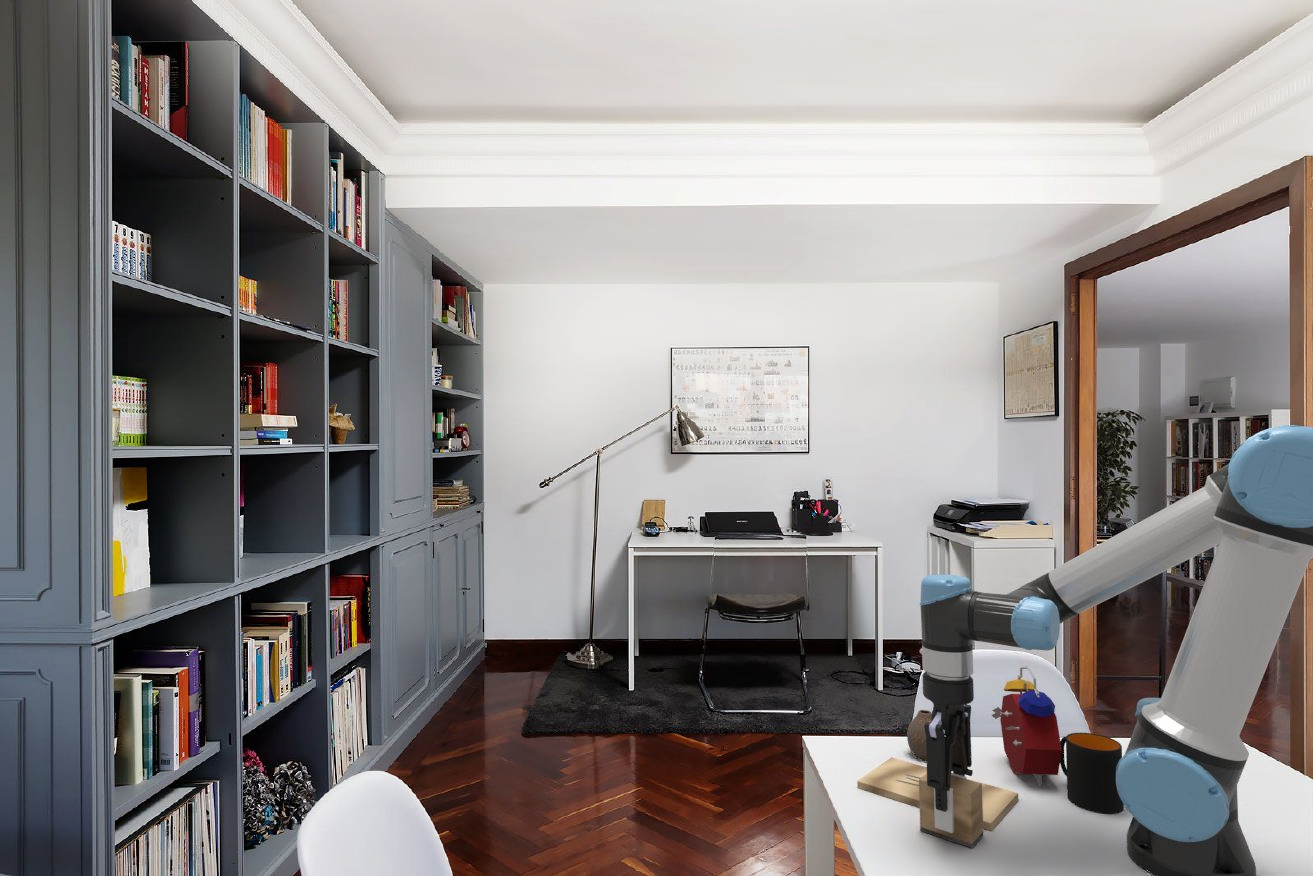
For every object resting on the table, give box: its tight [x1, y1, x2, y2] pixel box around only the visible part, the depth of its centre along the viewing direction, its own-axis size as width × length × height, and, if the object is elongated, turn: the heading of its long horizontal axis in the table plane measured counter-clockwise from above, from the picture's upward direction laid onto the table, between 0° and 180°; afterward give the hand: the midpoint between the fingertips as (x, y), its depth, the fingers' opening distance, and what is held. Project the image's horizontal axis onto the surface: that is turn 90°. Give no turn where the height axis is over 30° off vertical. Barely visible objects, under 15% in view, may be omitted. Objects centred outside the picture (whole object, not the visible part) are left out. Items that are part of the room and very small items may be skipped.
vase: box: [906, 709, 932, 761], centre depth 144 cm, size 7×7×9 cm
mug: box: [1059, 732, 1125, 815], centre depth 126 cm, size 8×12×10 cm
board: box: [856, 757, 1019, 832], centre depth 128 cm, size 23×14×1 cm, turn 47°
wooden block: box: [919, 773, 984, 849], centre depth 114 cm, size 8×5×8 cm, turn 47°
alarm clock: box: [991, 666, 1062, 787], centre depth 136 cm, size 15×9×20 cm, turn 171°
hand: (951, 822), depth 114 cm, fingers closed on wooden block, 5 cm apart
